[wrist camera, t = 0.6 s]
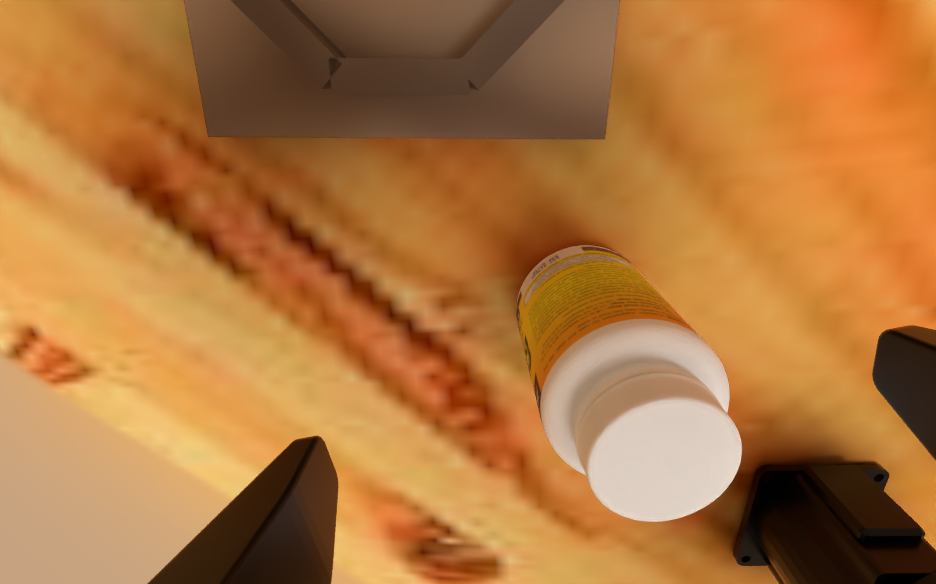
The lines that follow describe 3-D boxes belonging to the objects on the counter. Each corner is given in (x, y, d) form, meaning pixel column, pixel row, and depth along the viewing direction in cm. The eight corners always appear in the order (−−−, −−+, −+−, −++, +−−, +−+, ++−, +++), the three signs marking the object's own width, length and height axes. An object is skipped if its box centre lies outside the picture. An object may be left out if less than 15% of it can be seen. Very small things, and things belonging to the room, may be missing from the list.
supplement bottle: (488, 292, 22) (511, 449, 13) (598, 214, 21) (713, 324, 11) (560, 379, 24) (627, 576, 14) (665, 312, 23) (813, 479, 13)
